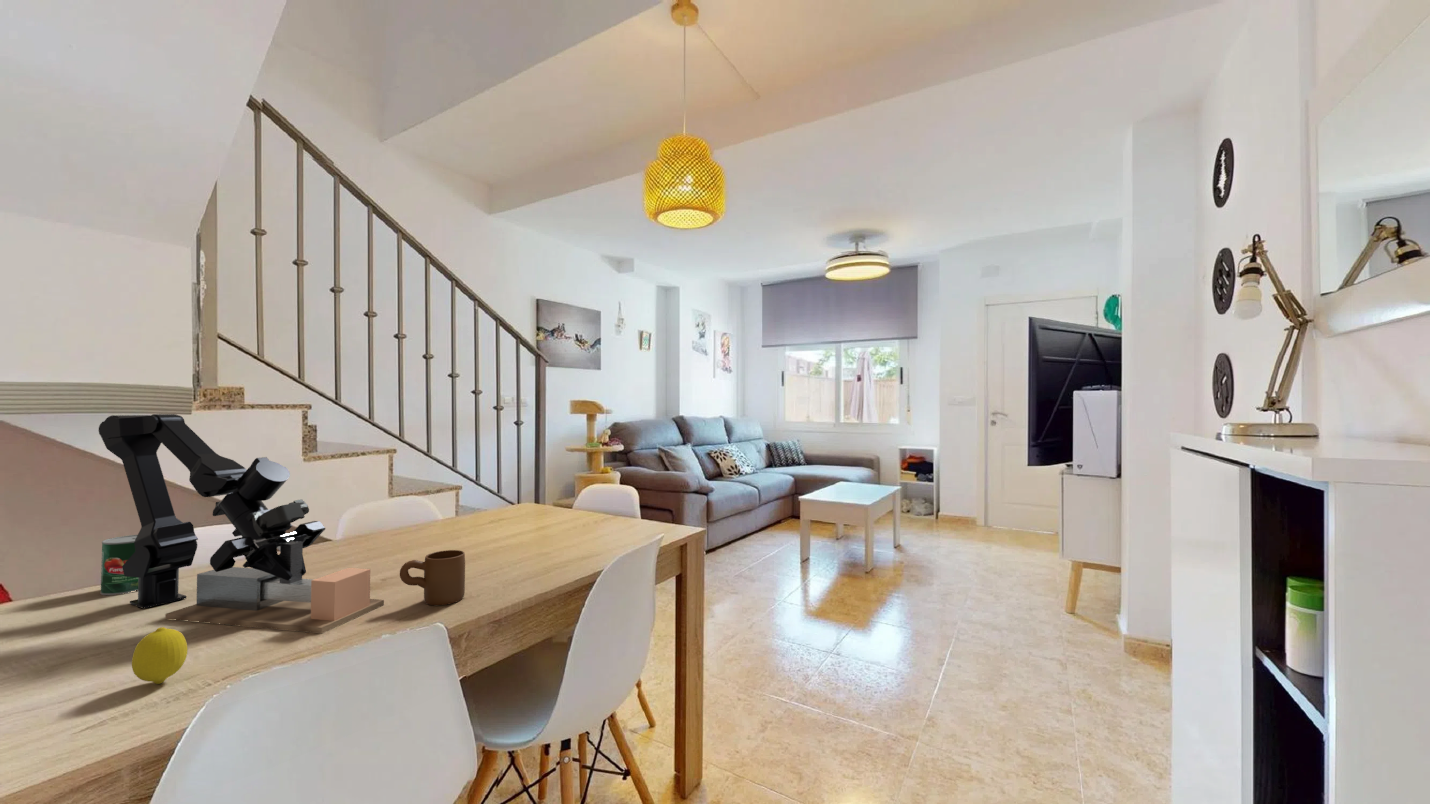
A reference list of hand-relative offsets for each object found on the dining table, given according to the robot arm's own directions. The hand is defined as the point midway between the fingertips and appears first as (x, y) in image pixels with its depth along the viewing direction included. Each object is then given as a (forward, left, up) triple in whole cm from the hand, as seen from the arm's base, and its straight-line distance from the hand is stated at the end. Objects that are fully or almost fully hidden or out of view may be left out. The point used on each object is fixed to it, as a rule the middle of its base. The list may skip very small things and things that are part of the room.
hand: (297, 576), depth 103 cm
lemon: (+12, -24, -7) cm, 27 cm away
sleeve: (-13, -3, -6) cm, 14 cm away
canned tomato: (-48, -8, -7) cm, 49 cm away
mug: (+18, +15, -7) cm, 25 cm away
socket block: (+10, +3, -6) cm, 12 cm away
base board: (-4, -1, -7) cm, 8 cm away
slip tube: (-6, -1, -4) cm, 7 cm away
